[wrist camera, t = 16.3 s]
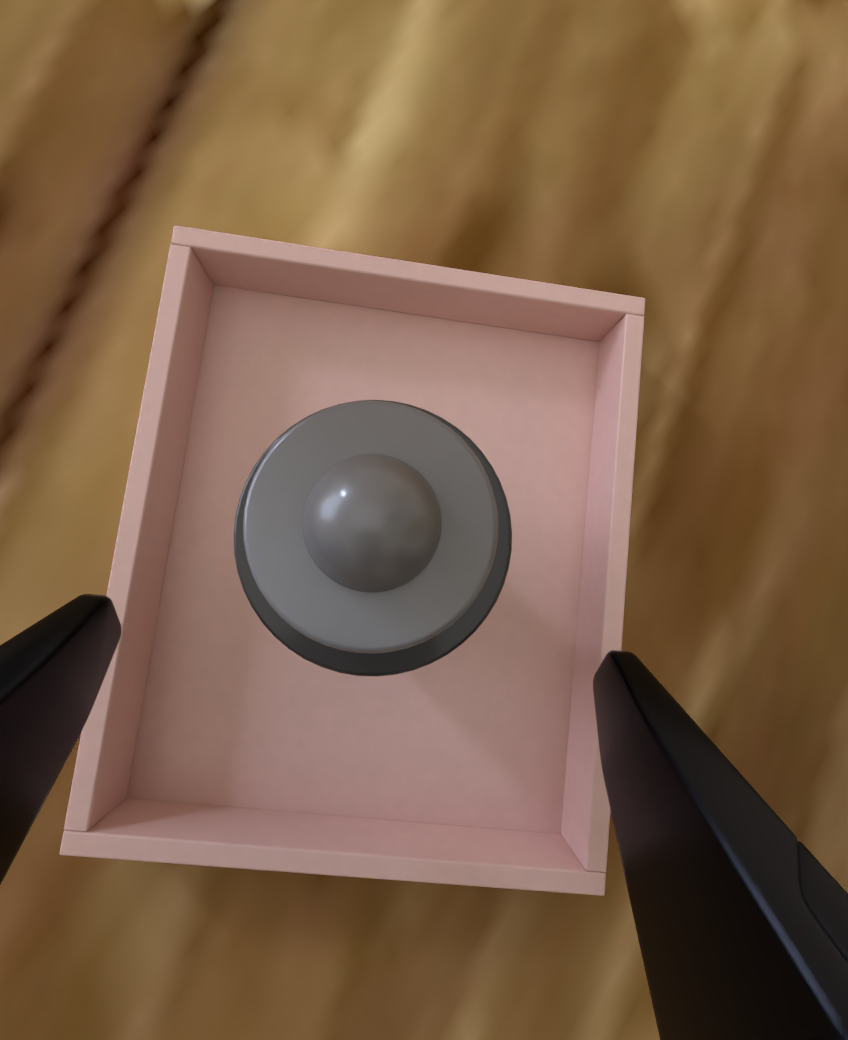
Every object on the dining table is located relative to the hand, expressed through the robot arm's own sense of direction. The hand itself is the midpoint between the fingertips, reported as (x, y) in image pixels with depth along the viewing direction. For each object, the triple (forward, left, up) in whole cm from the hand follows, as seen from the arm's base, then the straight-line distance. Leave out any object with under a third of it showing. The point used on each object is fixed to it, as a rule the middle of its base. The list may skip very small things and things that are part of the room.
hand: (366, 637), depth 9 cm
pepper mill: (+1, -1, -7) cm, 7 cm away
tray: (+2, -1, -7) cm, 7 cm away
